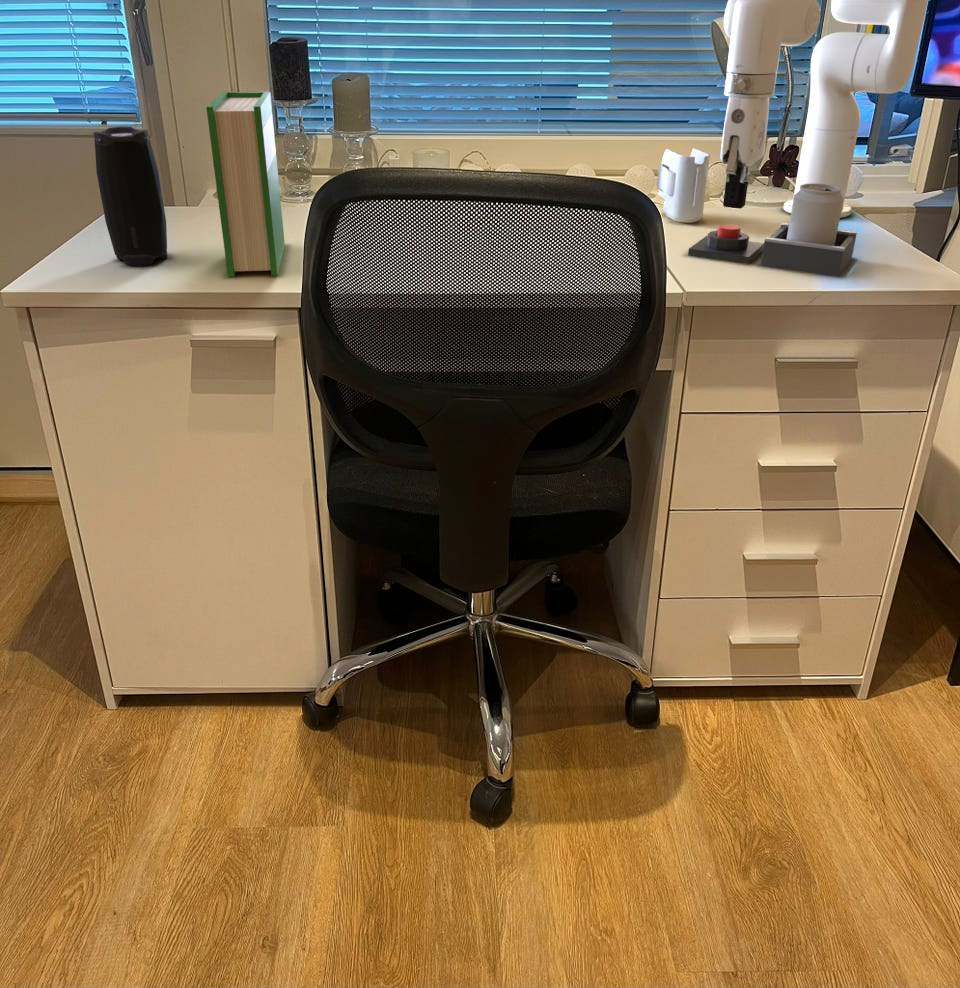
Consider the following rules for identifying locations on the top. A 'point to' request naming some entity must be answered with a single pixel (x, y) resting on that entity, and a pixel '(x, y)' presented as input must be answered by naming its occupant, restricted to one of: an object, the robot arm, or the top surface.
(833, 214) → the can
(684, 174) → the cable organizer
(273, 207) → the hardback book
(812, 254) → the grey open tray
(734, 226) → the release button
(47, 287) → the top surface
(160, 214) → the portable speaker
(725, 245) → the control block
